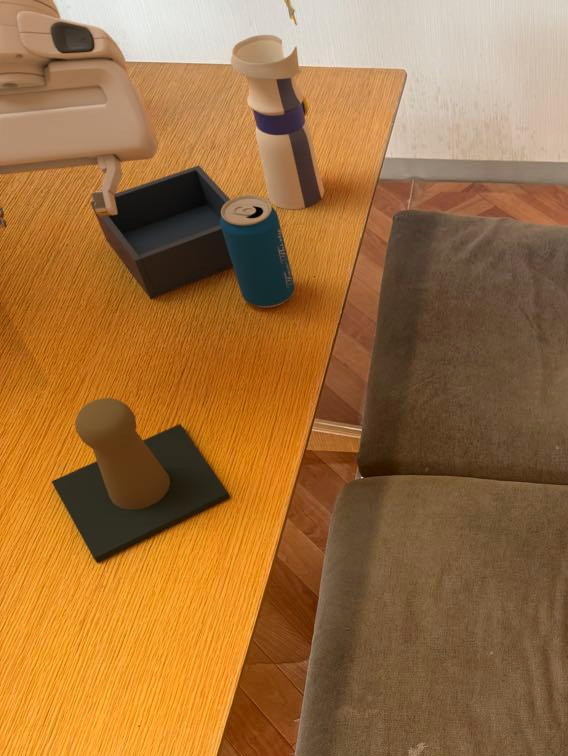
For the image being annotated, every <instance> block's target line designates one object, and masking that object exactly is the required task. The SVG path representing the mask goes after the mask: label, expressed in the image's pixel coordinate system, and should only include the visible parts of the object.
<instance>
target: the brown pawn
mask: <svg viewBox="0 0 568 756" xmlns="http://www.w3.org/2000/svg"><path fill="white" fill-rule="evenodd" d="M74 425H75V430H76V433H77V435H78V436H79V438H80V439H81V441H82V442H83V443H84V445H86V446H88V447H90V448H91V449H92V451H93V454H94V457H95V461H97V463H98V466H99V469H100V471H101V474H102V477H103V480H104V483H105V486H106V489H107V491H108V494H109V497H110V499H111V500H112V502H113V503H114V504H115V505H117V506H118V507H120V508H123V509H127V510H138V509H142V508H146V507H149V506H151V505H153V504H155V503H157V502H158V501H159V500H160V499H161V498H163V497H164V495H165V494H166V492H167V491H168V489H169V485H170V479H169V475H168V474H167V472H166V471H165V470H164V468H163V467H162V466H161V464H160V463H159V462H158V460H157V459H156V458H155V456H154V455H153V453H152V452H151V451H150V449H149V448H148V447H147V445H146V444H145V443H144V441H143V440H144V439H142V437H141V436H140V434H139V432H137V428H138V427H137V421H136V416H135V414H134V412H133V411H132V409H131V408H130V407H129V406H128V404H126V403H125V402H123V401H121V400H119V399H115V398H112V397H102V398H97V399H93V400H92V401H90V402H88V403H86V404H85V405H84V406H82V407H81V409H79V410H78V412H77V415H76V418H75V424H74Z"/></svg>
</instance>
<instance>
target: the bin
mask: <svg viewBox="0 0 568 756" xmlns="http://www.w3.org/2000/svg"><path fill="white" fill-rule="evenodd" d="M114 198H115V203H116V207H117V215H108V216H99V215H98V214H97V213H96V211H95V208H94V204H95V202H94V201H93V200H92V201H90V206H91V207H92V210H93V212H94V215H95V217H96V219H97V221H98V224H99V226H100V229H101V231H102V234H103V235H104V238H105V240H106V242H107V243H108V244H109V246H110V247H111V249H112V250H113V252H115V254H116V255H117V256H118V258H119V259H120V260H121V262H122V263H123V264H124V266H125V268H127V270H128V271H129V273H130V274H131V275H132V277H133V278H134V279H135V280H136V282H137V283H138V285H139V286H140V287H141V289H142V290H143V291H144V292H145V294H146V295H147V297H148V298H149V299H150V300H152V299H154V298H156V297H159V296H161V295H164V294H167V293H170V292H171V291H174V290H177V289H180V288H182V287H185V286H187V285H190V284H193V283H195V282H197V281H201V280H203V279H205V278H207V277H211V276H213V275H215V274H216V275H217V274H218V273H220V272H224V271H226V270H228V269H231V268H234V267H233V264H232V261H231V258H230V254H229V251H228V248H227V245H226V241H225V238H224V235H223V232H222V228H221V225H220V219H221V209H222V207H223V205H224V204H225V203H226V202H228V201H229V200H231V199H230V197H229V196H228V195H227V194H226V193H225V192H224V191H223V190H222V189H221V188H220V186H219V185H218V184H217V183H216V182H215V181H214V180H213V179H212V178H211V176H210V175H208V173H207V172H206V171H205V170H204V169H203V168H202V166H200V165H199V164H198V165H194V166H193V167H190V168H187V169H184V170H181V171H178V172H175V173H172V174H169V175H166V176H164V177H160V178H157V179H154V180H151V181H148V182H146V183H143V184H139V185H137V186H133V187H130V188H127V189H125V190H122V191H119V192H116V194H115V195H114Z"/></svg>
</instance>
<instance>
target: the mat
mask: <svg viewBox="0 0 568 756" xmlns="http://www.w3.org/2000/svg"><path fill="white" fill-rule="evenodd" d="M142 440H143V441H144V443H145V444H146V445H147V447H148V448H149V449H150V451H151V452H152V453H153V455H154V456H155V458H156V459H157V460H158V462H159V463H160V464H161V466H162V467H163V468H164V470H165V471H166V472H167V474H168V475H169V479H170V485H169V489H168V491H167V492H166V494H165V495H164V497H163V498H161V499H160V500H159V501H158V502H157V503H155V504H153V505H151V506H149V507H146V508H142V509H138V510H127V509H123V508H120V507H118V506H117V505H115V504H114V503H113V502H112V500H111V499H110V497H109V494H108V491H107V489H106V486H105V483H104V480H103V477H102V474H101V471H100V469H99V466H98V463H97V460H95V461H94V462H91V463H88V464H87V465H85V466H83V467H80V468H78V469H76V470H73V471H71V472H69V473H67V474H65V475H63V476H60V477H58V478H55V479H53V480H51V483H52V485H53V487H54V489H55V490H56V493H57V494H58V496H59V498H60V499H61V501H62V503H63V505H64V507H65V509H66V511H67V513H68V514H69V516H70V518H71V520H72V521H73V523H74V525H75V527H76V529H77V530H78V533H79V534H80V536H81V538H82V540H83V541H84V543H85V545H86V547H87V549H88V551H89V553H90V554H91V556H92V558H93V559H94V562H96V563H100V562H102V561H103V560H106V559H108V558H110V557H112V556H114V555H116V554H118V553H120V552H122V551H125V550H127V549H128V548H131V547H132V546H134V545H136V544H138V543H140V542H143V541H145V540H146V539H149V538H151V537H153V536H155V535H157V534H159V533H161V532H162V531H165V530H167V529H169V528H171V527H173V526H175V525H178V524H179V523H181V522H184V521H186V520H187V519H189V518H191V517H193V516H195V515H197V514H199V513H201V512H204V511H206V510H208V509H210V508H212V507H214V506H216V505H218V504H219V503H222V502H225V501H226V500H228V499H230V498H231V497H230V494H229V492H228V490H227V489H226V487H225V486H224V485H223V483H222V482H221V480H220V479H219V477H218V476H217V474H216V473H215V472H214V470H213V469H212V467H211V466H210V464H209V463H208V461H207V460H206V458H205V457H204V456H203V454H202V453H201V451H200V449H199V448H198V447H197V446H196V444H195V442H193V440H192V438H191V437H190V434H188V433H187V431H186V429H185V428H184V427H183V426H182V424H181V423H179V424H176V425H174V426H172V427H169V428H168V429H165V430H163V431H161V432H158V433H155V434H154V435H152V436H149V437H147V438H144V439H142Z"/></svg>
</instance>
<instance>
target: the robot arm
mask: <svg viewBox="0 0 568 756" xmlns="http://www.w3.org/2000/svg"><path fill="white" fill-rule="evenodd" d="M128 70H129V69H128V64H127V62H126V58H125V55H124V53H123V51H122V50H121V48H120V46H119V45H118V44H117V42H116V41H115V40H114V38H112V37H111V36H110V35H109V34H108V32H106V30H104V29H103V28H100V27H99V26H95V25H90V24H85V23H81V22H76V21H71V20H67V19H64V18H61V15H60V12H59V9H58V7H57V5H56V3H55V2H54V0H0V176H3V175H13V174H21V173H31V172H41V171H50V170H61V169H68V168H69V169H70V168H78V167H88V166H95V165H97V166H98V169H99V170H100V171H102V172H103V173H104V178H103V181H102V184H101V188H100V190H99V191H91V192H90V194H91V198H92V201H94V202H95V204H94V208H95V211H96V213H97V214H98V215H99V216H108V215H117V207H116V203H115V198H114V195H115V194H116V193H117V192H118V188H119V185H120V182H121V180H122V178H123V171H122V170H123V169H122V165H121V163H124V162H132V161H133V162H134V161H142V160H151V159H153V158H154V156H155V155H156V153H157V151H158V149H159V142H158V137H157V133H156V130H155V126H154V123H153V120H152V117H151V113H150V110H149V108H148V106H147V103H146V101H145V98H144V96H143V94H142V93H141V90H140V89H139V87H138V86H137V85H136V83H135V81H133V79H132V78H131V76H130V74H129V73H128V72H129V71H128ZM4 217H5V212H4V209H3V207H2V206H0V229H4V228H7V220H6V219H4Z"/></svg>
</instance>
